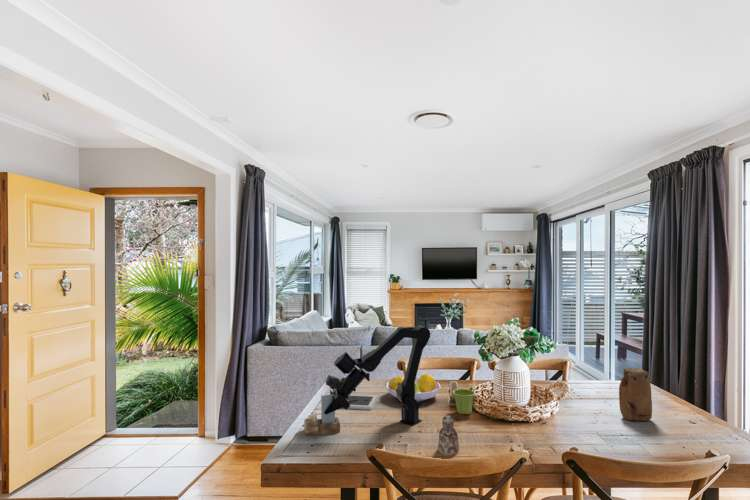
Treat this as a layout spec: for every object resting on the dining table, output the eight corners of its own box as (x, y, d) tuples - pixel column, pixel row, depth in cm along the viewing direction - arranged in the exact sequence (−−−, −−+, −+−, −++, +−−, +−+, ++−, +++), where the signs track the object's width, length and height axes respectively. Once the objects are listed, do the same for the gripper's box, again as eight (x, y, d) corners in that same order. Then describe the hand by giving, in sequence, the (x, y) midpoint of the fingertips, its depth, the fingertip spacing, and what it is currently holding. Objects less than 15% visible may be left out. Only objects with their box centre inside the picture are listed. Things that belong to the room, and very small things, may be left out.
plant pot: (466, 417, 172) (466, 396, 172) (449, 412, 179) (448, 391, 179) (479, 412, 178) (479, 392, 179) (462, 407, 185) (461, 387, 186)
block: (641, 414, 173) (639, 366, 174) (655, 421, 165) (653, 371, 166) (617, 416, 172) (615, 367, 173) (630, 422, 164) (628, 372, 165)
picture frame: (326, 409, 187) (370, 411, 183) (326, 403, 187) (370, 405, 183) (335, 398, 202) (377, 400, 198) (335, 392, 202) (377, 394, 199)
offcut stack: (317, 425, 163) (316, 413, 163) (318, 431, 157) (318, 418, 157) (304, 427, 162) (304, 414, 162) (305, 432, 156) (305, 420, 156)
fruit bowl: (394, 387, 217) (394, 365, 217) (445, 391, 208) (445, 369, 208) (376, 404, 190) (376, 379, 191) (434, 410, 181) (434, 384, 182)
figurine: (436, 453, 140) (435, 417, 141) (440, 444, 147) (439, 410, 147) (457, 456, 138) (456, 420, 138) (460, 447, 144) (459, 413, 145)
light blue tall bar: (334, 428, 163) (333, 393, 163) (335, 431, 160) (334, 396, 160) (321, 429, 162) (321, 394, 162) (322, 432, 159) (321, 397, 159)
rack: (337, 426, 165) (337, 417, 165) (340, 432, 159) (339, 423, 159) (304, 429, 162) (304, 420, 162) (305, 435, 156) (305, 426, 156)
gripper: (334, 362, 172) (308, 391, 169) (341, 374, 154) (311, 406, 151) (353, 380, 173) (327, 409, 170) (361, 393, 155) (333, 426, 152)
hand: (324, 412), depth 161 cm, fingers closed on light blue tall bar, 3 cm apart
